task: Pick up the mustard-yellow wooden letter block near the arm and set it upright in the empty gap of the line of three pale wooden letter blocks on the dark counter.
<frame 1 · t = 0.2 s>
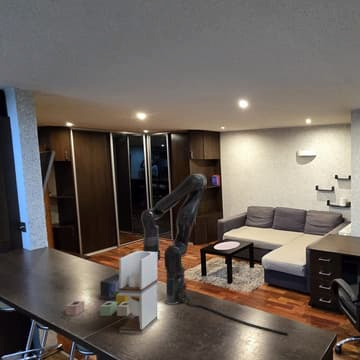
hand: (151, 271, 155), 17 cm above the counter, tool pointing down, fingers open, 8 cm apart
blush block: (75, 312, 141), on the counter
cream block: (125, 313, 142), on the counter
sage block: (108, 313, 142), on the counter
mustard block: (123, 301, 154), on the counter
small box: (112, 295, 160), on the counter
white shelf unit: (139, 326, 131), on the counter
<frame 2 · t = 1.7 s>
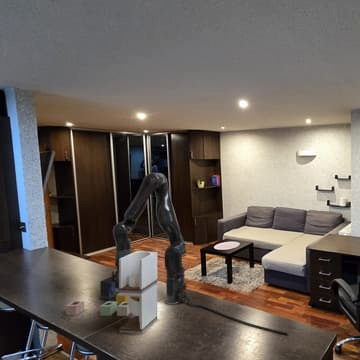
hand: (123, 284, 153), 10 cm above the counter, tool pointing down, fingers open, 8 cm apart
nothing on the counter moved.
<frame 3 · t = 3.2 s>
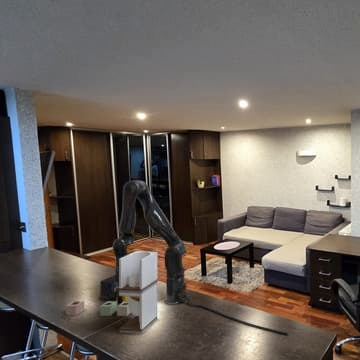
hand: (123, 300, 154), 1 cm above the counter, tool pointing down, fingers closed on mustard block, 5 cm apart
mustard block: (123, 301, 154), on the counter, touching gripper
everything else where it was.
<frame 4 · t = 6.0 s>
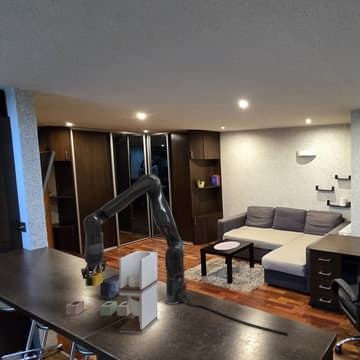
hand: (94, 283, 142), 15 cm above the counter, tool pointing down, fingers closed on mustard block, 5 cm apart
mustard block: (94, 284, 142), point 15 cm above the counter, touching gripper
everything else where it was.
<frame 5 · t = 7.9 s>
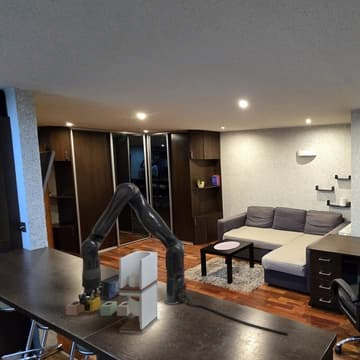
hand: (91, 307, 141), 3 cm above the counter, tool pointing down, fingers closed on mustard block, 5 cm apart
mustard block: (91, 308, 141), point 2 cm above the counter, touching gripper
everything else where it was.
when the fingers open (0 cm above the counter, at t = 9.1 s): mustard block stays where it is, on the counter.
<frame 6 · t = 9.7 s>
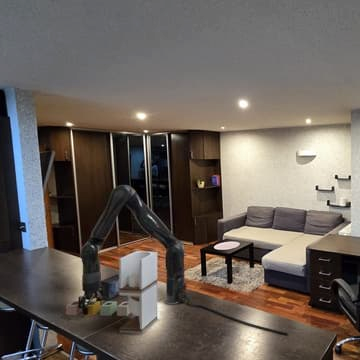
hand: (92, 310, 141), 2 cm above the counter, tool pointing down, fingers open, 8 cm apart
mustard block: (91, 312, 141), on the counter
everything else where it was.
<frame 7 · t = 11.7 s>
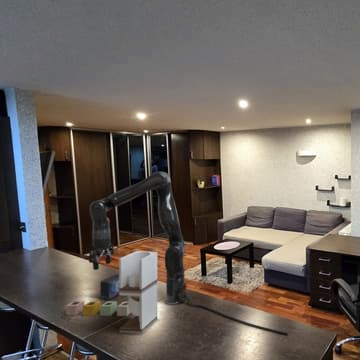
hand: (102, 266, 146), 23 cm above the counter, tool pointing down, fingers open, 8 cm apart
nothing on the counter moved.
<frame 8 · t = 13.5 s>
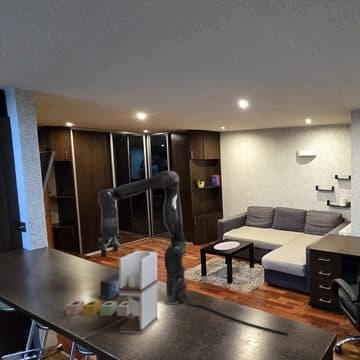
hand: (109, 253, 150), 28 cm above the counter, tool pointing down, fingers open, 8 cm apart
nothing on the counter moved.
at the end: mustard block 0.1 cm from the target spot, on the counter; mustard block tilted 0°; blush block moved 0.0 cm from its start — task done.
